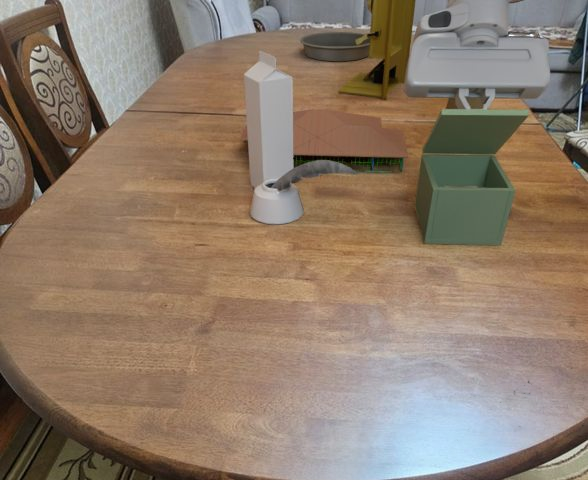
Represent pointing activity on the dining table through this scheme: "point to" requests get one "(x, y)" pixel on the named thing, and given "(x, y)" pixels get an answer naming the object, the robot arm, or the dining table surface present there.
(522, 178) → the dining table surface
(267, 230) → the dining table surface
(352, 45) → the cake pan
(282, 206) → the inkwell
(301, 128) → the house
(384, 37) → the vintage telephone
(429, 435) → the dining table surface
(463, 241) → the chest
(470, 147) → the lid
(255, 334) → the dining table surface
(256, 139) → the milk
